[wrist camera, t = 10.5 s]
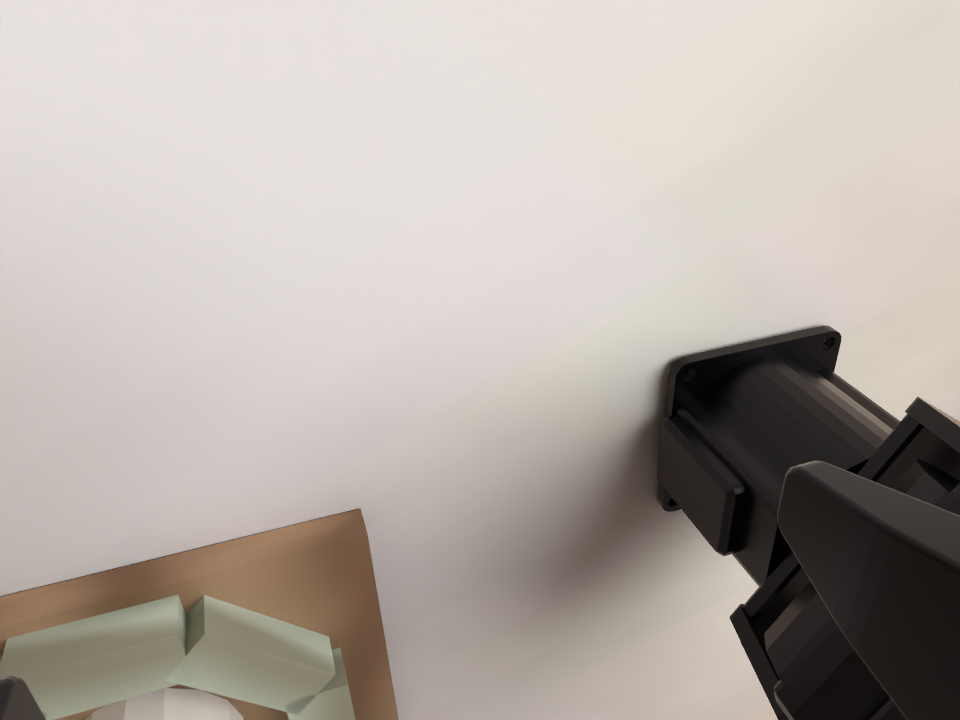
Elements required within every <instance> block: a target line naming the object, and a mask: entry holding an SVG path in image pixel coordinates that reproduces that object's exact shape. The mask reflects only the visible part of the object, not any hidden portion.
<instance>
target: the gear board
mask: <svg viewBox="0 0 960 720" xmlns="http://www.w3.org/2000/svg"><path fill="white" fill-rule="evenodd" d="M10 675H12V676H13V675H16V676H19V677H21V678H22V679H23V680H24V682H25V683H26V685H27V686H28V688H29V690H30V692H31V693H32V695H33V697H34V699H35V701H36V702H37V704H38V706H39V708H40V710H41V711H42V713H43V715H44V717H45V719H46V720H85V719H86V718H87V717H88V716H89V715H91V714H92V713H93V712H94V711H96V710H98V709H100V708H102V707H104V706H106V705H109V704H111V703H115V702H118V701H122V700H125V699H129V698H132V697H136V696H139V695H143V694H146V693H150V692H153V691H157V690H160V689H164V688H175V689H195V690H202V691H205V692H207V693H210V694H213V695H215V696H218V697H221V698H223V699H226V700H228V701H229V702H230V703H231V704H232V705H233V707H234V708H235V709H236V710H237V711H238V712H239V713H240V714H241V715H242V716H243V718H244V720H398V715H397V709H396V703H395V697H394V691H393V685H392V679H391V673H390V667H389V661H388V655H387V649H386V643H385V637H384V631H383V625H382V620H381V614H380V608H379V602H378V596H377V590H376V584H375V578H374V572H373V566H372V560H371V554H370V548H369V542H368V536H367V531H366V528H365V524H364V520H363V517H362V513H361V509H357V510H353V511H349V512H345V513H340V514H336V515H332V516H328V517H324V518H320V519H316V520H312V521H308V522H304V523H300V524H296V525H292V526H287V527H283V528H279V529H275V530H271V531H267V532H263V533H259V534H255V535H251V536H247V537H243V538H239V539H235V540H230V541H226V542H222V543H218V544H214V545H210V546H206V547H202V548H198V549H194V550H190V551H186V552H182V553H177V554H173V555H169V556H165V557H161V558H157V559H153V560H149V561H145V562H141V563H137V564H133V565H129V566H125V567H120V568H116V569H112V570H108V571H104V572H100V573H96V574H92V575H88V576H84V577H80V578H76V579H72V580H67V581H63V582H59V583H55V584H51V585H47V586H43V587H39V588H35V589H31V590H27V591H23V592H19V593H15V594H10V595H6V596H2V597H0V678H3V677H7V676H10Z"/></svg>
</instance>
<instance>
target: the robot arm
mask: <svg viewBox="0 0 960 720" xmlns="http://www.w3.org/2000/svg"><path fill="white" fill-rule="evenodd" d="M825 340H826V341H825ZM824 341H825V342H824ZM840 343H841V335H840V333H839V332H837V331H836V330H834V329H833V328H831V327H830V326H821V327H817V328H812V329H807V330H803V331H798V332H794V333H789V334H785V335H780V336H776V337H771V338H767V339H762V340H758V341H753V342H748V343H744V344H739V345H735V346H730V347H726V348H721V349H717V350H712V351H708V352H703V353H699V354H694V355H689V356H685V357H682V358H679V359H678V360H677V361H675V362H674V363H673V365H672V366H671V368H670V371H669V379H668V389H667V400H666V410H665V419H664V421H663V423H662V427H661V437H660V448H659V458H658V469H657V479H658V480H659V482H658V492H657V501H658V502H659V504H660V505H661V506H662V508H663V509H664V510H665V511H668V512H671V511H676V510H680V509H682V510H683V511H684V513H685V514H686V515H687V516H688V518H689V519H690V520H691V521H692V523H693V524H694V525H695V526H696V528H697V529H698V530H699V531H700V533H701V534H702V535H703V536H704V537H705V539H706V540H707V541H708V542H709V544H710V545H711V546H712V547H713V549H714V550H715V551H716V552H718V553H719V554H721V555H722V556H726V555H730V554H732V555H733V556H734V557H735V558H736V559H737V561H738V562H739V563H740V564H741V565H742V567H743V568H744V569H745V570H746V571H747V573H748V574H749V575H750V576H751V577H752V579H753V580H754V581H755V582H756V584H757V585H758V586H759V588H758V589H757V590H756V591H755V593H754V594H753V595H752V596H751V597H750V598H749V600H748V601H747V602H746V603H745V604H740V605H739V606H738V608H737V609H736V610H735V611H734V612H733V613H732V615H731V616H730V620H731V622H732V624H733V626H734V628H735V630H736V632H737V634H738V636H739V638H740V641H741V644H742V646H743V648H744V650H745V652H746V654H747V656H748V658H749V660H750V662H751V664H752V666H753V668H754V670H755V672H756V675H757V677H758V679H759V681H760V683H761V685H762V687H763V689H764V691H765V693H766V695H767V697H768V699H769V701H770V703H771V705H772V708H773V710H774V712H775V714H776V716H777V718H778V720H960V422H959V421H957V420H956V419H954V418H952V417H951V416H949V415H947V414H946V413H944V412H942V411H941V410H939V409H937V408H936V407H934V406H932V405H931V404H929V403H927V402H926V401H924V400H922V399H921V398H919V397H917V398H916V399H915V400H914V402H913V403H912V404H911V405H910V406H909V407H908V409H907V410H906V411H905V412H906V413H907V415H906V416H905V417H904V418H903V420H902V421H901V422H900V421H899V420H898V419H896V418H895V417H893V416H892V415H891V414H889V413H888V412H887V411H885V410H884V409H883V408H881V407H880V406H878V405H877V404H876V403H874V402H873V401H872V400H870V399H869V398H868V397H866V396H865V395H863V394H862V393H861V392H859V391H858V390H857V389H855V388H854V387H853V386H851V385H850V384H848V383H847V382H846V381H844V380H843V379H842V378H840V377H839V376H837V375H836V374H835V373H834V369H835V365H836V361H837V356H838V352H839V348H840ZM688 369H689V370H688ZM686 370H688V372H687V373H686V374H685V375H683V373H684V372H685V371H686ZM682 375H683V376H682ZM0 720H46V719H45V717H44V715H43V713H42V711H41V710H40V708H39V706H38V704H37V702H36V701H35V699H34V697H33V695H32V693H31V692H30V690H29V688H28V686H27V685H26V683H25V682H24V680H23V679H22V678H21V677H19V676H16V675H13V676H12V675H10V676H7V677H3V678H0Z"/></svg>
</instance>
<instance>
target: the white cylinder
mask: <svg viewBox="0 0 960 720" xmlns="http://www.w3.org/2000/svg"><path fill="white" fill-rule="evenodd" d="M85 720H244V718H243V716H242V715H241V714H240V713H239V712H238V711H237V710H236V709H235V708H234V707H233V705H232V704H231V703H230V702H229V701H228V700H226V699H223V698H221V697H218V696H215V695H213V694H210V693H207V692H205V691H202V690H195V689H175V688H164V689H160V690H157V691H153V692H150V693H146V694H143V695H139V696H136V697H132V698H129V699H125V700H122V701H118V702H115V703H111V704H109V705H106V706H104V707H102V708H100V709H98V710H96V711H94V712H93V713H92V714H91V715H89V716H88V717H87V718H86V719H85Z"/></svg>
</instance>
